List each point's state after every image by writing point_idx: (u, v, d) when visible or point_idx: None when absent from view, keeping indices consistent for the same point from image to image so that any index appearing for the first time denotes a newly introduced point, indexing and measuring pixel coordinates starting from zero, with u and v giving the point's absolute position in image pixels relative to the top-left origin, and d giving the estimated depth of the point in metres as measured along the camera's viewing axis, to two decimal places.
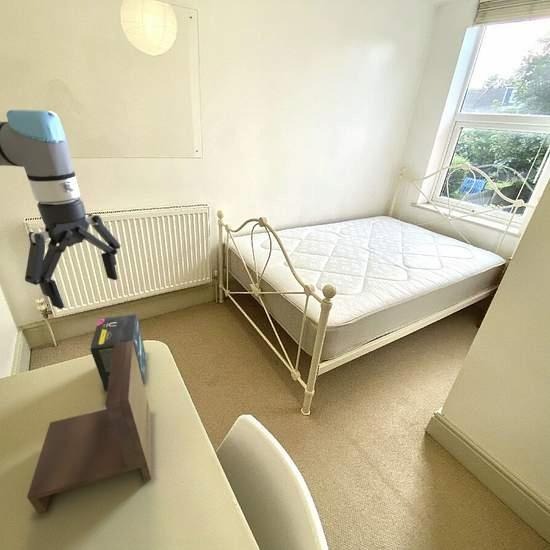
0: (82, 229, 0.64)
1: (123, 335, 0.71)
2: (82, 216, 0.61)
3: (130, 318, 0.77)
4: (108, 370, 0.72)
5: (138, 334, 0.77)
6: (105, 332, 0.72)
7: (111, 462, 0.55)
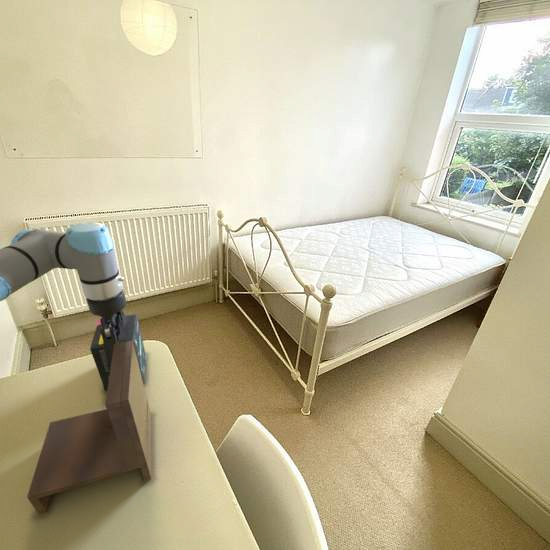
0: (120, 310, 0.73)
1: (123, 335, 0.71)
2: None
3: (130, 318, 0.77)
4: (108, 370, 0.72)
5: (138, 334, 0.77)
6: None
7: (111, 462, 0.55)
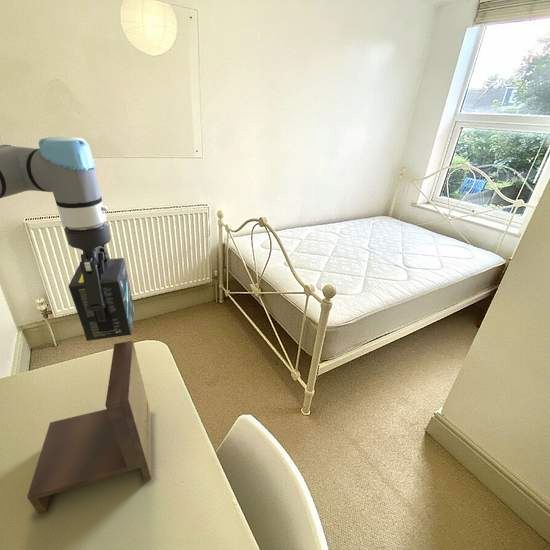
0: (105, 249, 0.65)
1: (106, 276, 0.63)
2: None
3: (116, 261, 0.69)
4: (90, 314, 0.64)
5: (125, 279, 0.69)
6: None
7: (111, 462, 0.55)
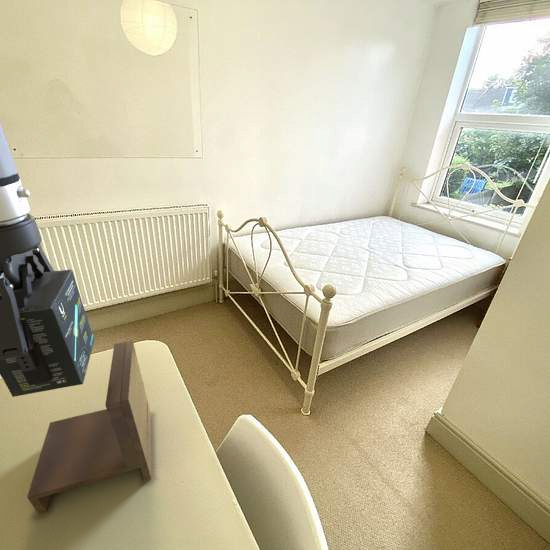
0: (35, 258, 0.42)
1: (36, 299, 0.41)
2: (40, 235, 0.41)
3: (59, 275, 0.46)
4: (11, 360, 0.41)
5: (72, 301, 0.46)
6: None
7: (111, 462, 0.55)
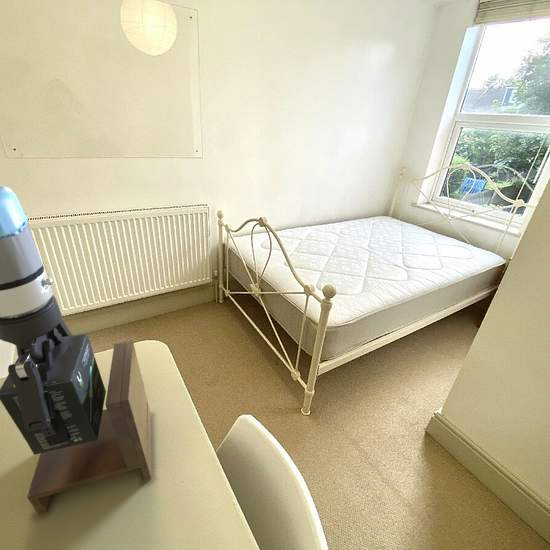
0: (55, 330, 0.47)
1: (56, 371, 0.45)
2: None
3: (75, 340, 0.50)
4: None
5: (87, 365, 0.50)
6: None
7: (111, 462, 0.55)
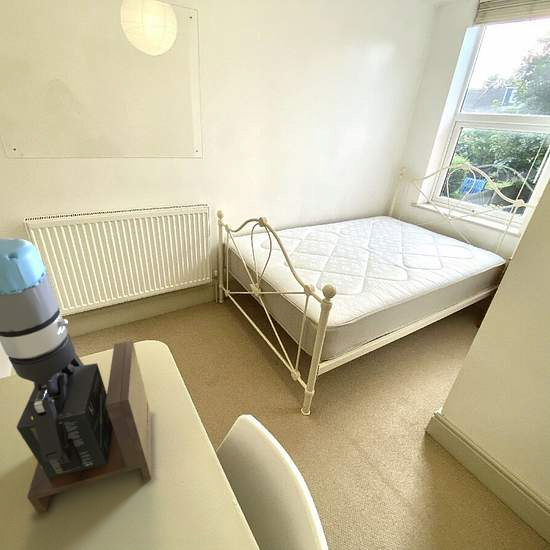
0: (69, 364, 0.50)
1: (70, 403, 0.48)
2: None
3: (86, 371, 0.54)
4: None
5: (97, 394, 0.54)
6: None
7: (111, 462, 0.55)
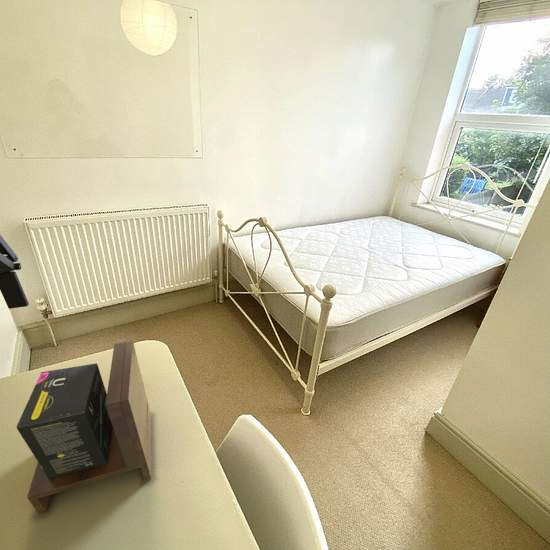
0: None
1: (70, 403, 0.48)
2: None
3: (86, 371, 0.54)
4: (49, 453, 0.49)
5: (97, 394, 0.54)
6: (44, 396, 0.49)
7: (111, 462, 0.55)
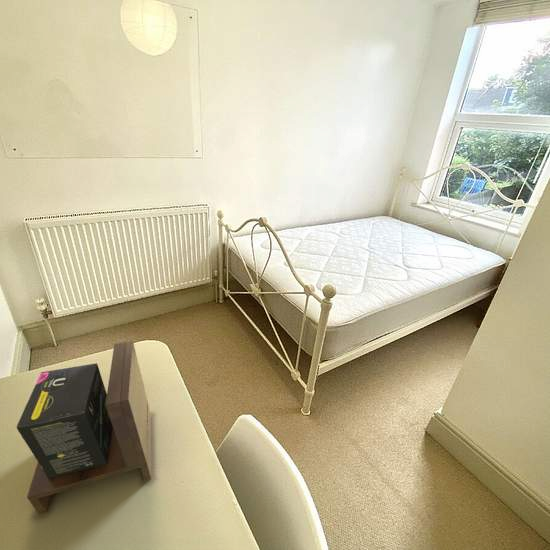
0: None
1: (70, 403, 0.48)
2: None
3: (86, 371, 0.54)
4: (49, 453, 0.49)
5: (97, 394, 0.54)
6: (44, 396, 0.49)
7: (111, 462, 0.55)
